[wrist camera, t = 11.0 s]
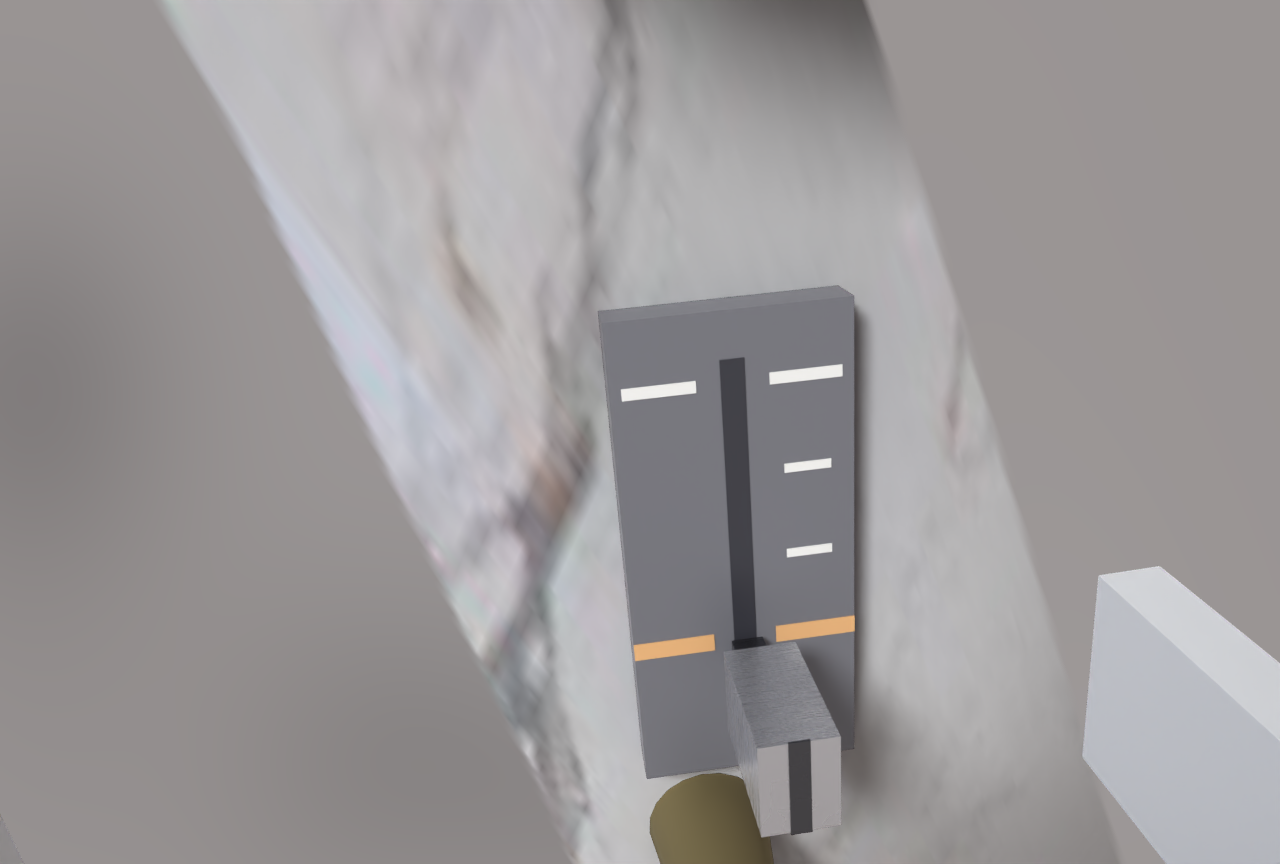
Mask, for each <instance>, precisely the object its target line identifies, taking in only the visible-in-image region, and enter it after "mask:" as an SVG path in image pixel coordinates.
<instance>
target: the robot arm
mask: <svg viewBox="0 0 1280 864" xmlns="http://www.w3.org/2000/svg"><path fill="white" fill-rule="evenodd" d="M1082 757H1083V759H1084V760H1085V761H1086V763H1087V764H1088V765H1089V766H1090V768H1091V769H1092V770H1093V771H1094V773H1095V774H1096V775H1097V777H1098V778H1099V779H1100V780H1101V782H1102V783H1103V784H1104V785H1105V787H1106V788H1107V789H1108V790H1109V792H1110V793H1111V794H1112V796H1113V797H1114V798H1115V799H1116V800H1117V802H1118V803H1119V804H1120V806H1121V807H1122V808H1123V809H1124V811H1125V812H1126V813H1127V814H1128V816H1129V817H1130V818H1131V820H1132V821H1133V822H1134V824H1135V825H1136V826H1137V827H1138V828H1139V830H1140V831H1141V832H1142V834H1143V835H1144V836H1145V838H1146V839H1147V840H1148V841H1149V843H1150V844H1151V845H1152V846H1153V848H1154V849H1155V850H1156V851H1157V853H1158V854H1159V855H1160V856H1161V858H1162V859H1163V860H1164V862H1165V863H1166V864H1280V663H1279V662H1278V661H1277V660H1275V659H1274V658H1273V657H1272V656H1270V655H1269V654H1268V653H1267V652H1265V651H1264V650H1263V649H1262V648H1261V647H1259V646H1258V645H1257V644H1255V643H1254V642H1253V641H1252V640H1251V639H1249V638H1248V637H1247V636H1246V635H1244V634H1243V633H1242V632H1241V631H1239V630H1238V629H1237V628H1236V627H1234V626H1233V625H1232V624H1231V623H1230V622H1228V621H1227V620H1226V619H1225V618H1223V617H1222V616H1221V615H1220V614H1218V613H1217V612H1216V611H1215V610H1214V609H1212V608H1211V607H1209V606H1208V605H1207V604H1206V603H1205V602H1204V601H1202V600H1201V599H1200V598H1198V597H1197V596H1196V595H1195V594H1194V593H1192V592H1191V591H1190V590H1189V589H1188V588H1186V587H1185V586H1184V585H1182V584H1181V583H1180V582H1179V581H1178V580H1176V579H1175V578H1174V577H1173V576H1172V575H1170V574H1169V573H1168V572H1167V571H1165V570H1164V569H1163V568H1162V567H1160V566H1157V567H1150V568H1144V569H1137V570H1131V571H1124V572H1118V573H1111V574H1105V575H1099V576H1098V587H1097V598H1096V609H1095V620H1094V632H1093V643H1092V654H1091V666H1090V676H1089V688H1088V698H1087V709H1086V720H1085V732H1084V743H1083V754H1082ZM0 864H24V862H23V860H22V858H21V856H20V854H19V852H18V850H17V848H16V846H15V844H14V841H13V839H12V837H11V835H10V833H9V831H8V829H7V827H6V825H5V823H4V821H3V818H2V817H1V814H0Z"/></svg>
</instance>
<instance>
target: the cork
mask: <svg viewBox="0 0 1280 864" xmlns="http://www.w3.org/2000/svg"><path fill="white" fill-rule="evenodd" d="M650 835H651V837H652V840H653V843H654V846H655V849H656V852H657V855H658V858H659V861H660V864H774V862H773V855H772V848H771V841H770V836H767V837H761V835H760V831H759V828H758V825H757V822H756V819H755V815H754V812H753V809H752V806H751V802H750V799H749V796H748V793H747V790H746V786H745V783H744V780H742V779H740V778H739V777H736V776H731V775H726V774H721V773H716V774H701V775H698V776H695V777H692V778H689V779H686V780H683V781H681V782H680V783H678V784H677V785H675V786H674V787H672V788H670V789H669V790H668V791H667V792H666V793H665V794H664V795H663V796H662V797H661V798H660V800H659V801H658V802H657V803H656V805H655V808H654V810H653V812H652V815H651V817H650Z"/></svg>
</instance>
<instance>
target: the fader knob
mask: <svg viewBox="0 0 1280 864" xmlns="http://www.w3.org/2000/svg"><path fill="white" fill-rule="evenodd" d="M731 642H732V651H724V665H725V682H726V699H727V716H728V732H729V735H730V738H731V741H732V745H733V748H734V751H735V754H736V757H737V761H738V764H739V767H740V770H741V774H742V777H743V780H744V783H745V786H746V790H747V793H748V796H749V799H750V802H751V806H752V809H753V812H754V815H755V819H756V822H757V825H758V828H759V831H760V835H761V837H767V836H774V835H781V834H787V833H791V835H795V834H801V833H808V832H813V829H820V828H826V827H833V826H840V825H841V736H840V734H839V732H838V730H837V728H836V726H835V723H834V721H833V719H832V717H831V715H830V713H829V711H828V709H827V707H826V705H825V703H824V701H823V698H822V696H821V694H820V692H819V690H818V688H817V686H816V684H815V682H814V680H813V678H812V676H811V673H810V671H809V669H808V667H807V665H806V663H805V661H804V659H803V657H802V655H801V653H800V651H799V648H798V646H797V644H796V642H790V643H783V644H776V645H768V646H766V643H765V641H764V639H763V636H762V637H755V638H748V639H740V640H733V641H731Z"/></svg>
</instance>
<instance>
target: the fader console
mask: <svg viewBox="0 0 1280 864" xmlns="http://www.w3.org/2000/svg"><path fill="white" fill-rule="evenodd" d="M598 318H599V328H600V338H601V348H602V358H603V368H604V378H605V388H606V398H607V408H608V418H609V428H610V438H611V448H612V458H613V468H614V477H615V487H616V497H617V507H618V517H619V527H620V537H621V547H622V557H623V567H624V577H625V587H626V597H627V607H628V617H629V627H630V637H631V647H632V657H633V667H634V677H635V687H636V696H637V706H638V716H639V726H640V736H641V746H642V754H643V760H644V766H645V771H646V777H647V779H651V778H658V777H664V776H671V775H678V774H685V773H692V772H699V771H705V770H712V769H719V768H726V767H733V766H739V764H738V761H737V757H736V754H735V751H734V748H733V745H732V741H731V738H730V735H729V732H728V716H727V699H726V682H725V665H724V651H732V642H731V641H733V640H740V639H748V638H755V637H762V636H763V639H764V641H765V643H766V646H768V645H776V644H783V643H790V642H796V644H797V646H798V648H799V651H800V653H801V655H802V657H803V659H804V661H805V663H806V665H807V667H808V669H809V671H810V673H811V676H812V678H813V680H814V682H815V684H816V686H817V688H818V690H819V692H820V694H821V696H822V698H823V701H824V703H825V705H826V707H827V709H828V711H829V713H830V715H831V717H832V719H833V721H834V723H835V726H836V728H837V730H838V732H839V734H840V736H841V751H842V750H849V749H854V631H855V616H854V295H852V294H851V293H849V292H848V291H846V290H845V289H843V288H841V287H840V286H830V287H820V288H811V289H802V290H792V291H783V292H774V293H764V294H755V295H746V296H736V297H727V298H718V299H709V300H699V301H690V302H681V303H671V304H662V305H653V306H643V307H634V308H625V309H615V310H606V311H598Z"/></svg>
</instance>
